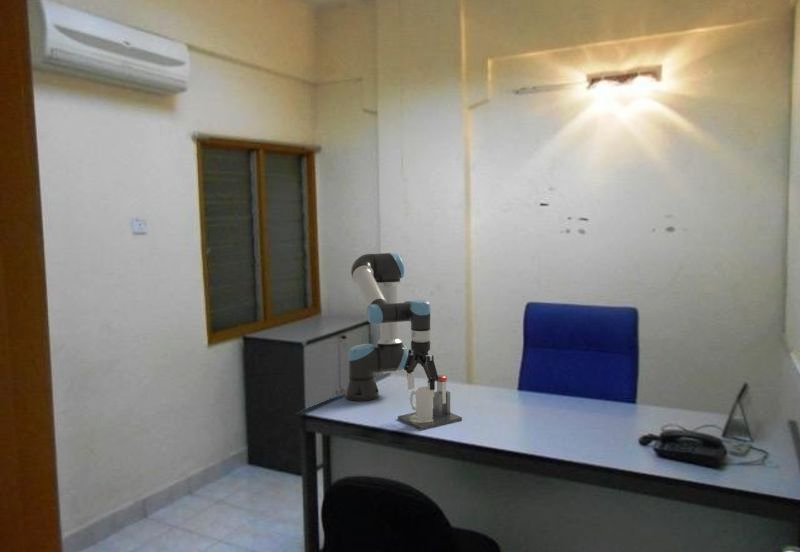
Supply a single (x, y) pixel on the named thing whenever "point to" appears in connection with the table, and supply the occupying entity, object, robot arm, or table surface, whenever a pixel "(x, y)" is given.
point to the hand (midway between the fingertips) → (420, 393)
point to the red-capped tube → (442, 387)
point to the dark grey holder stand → (439, 414)
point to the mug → (422, 404)
